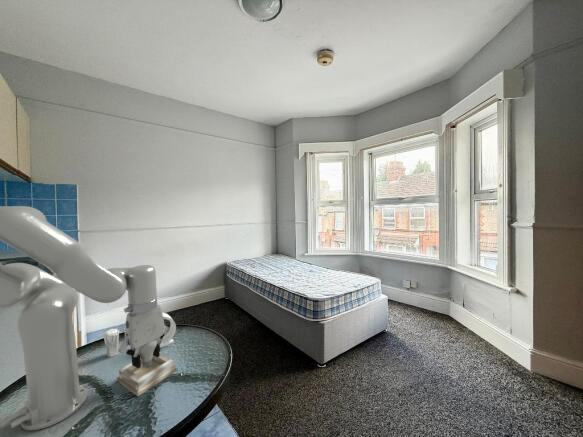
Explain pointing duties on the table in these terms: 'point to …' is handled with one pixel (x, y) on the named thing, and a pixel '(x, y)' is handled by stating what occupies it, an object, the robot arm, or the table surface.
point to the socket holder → (146, 374)
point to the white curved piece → (168, 337)
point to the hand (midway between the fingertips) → (146, 360)
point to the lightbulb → (147, 353)
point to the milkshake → (112, 342)
